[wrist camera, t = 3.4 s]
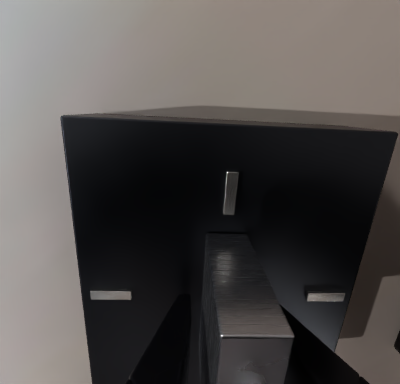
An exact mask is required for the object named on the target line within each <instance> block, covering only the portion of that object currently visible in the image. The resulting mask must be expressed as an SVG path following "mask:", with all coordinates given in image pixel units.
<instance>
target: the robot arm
mask: <svg viewBox="0 0 400 384" xmlns="http://www.w3.org/2000/svg"><path fill="white" fill-rule="evenodd" d="M280 306H281V308H282V310H283V312H284V314H285V316H286V319H287V321H288V323H289V325H290V327H291V329H292V331H293V334H294V336H295V338H294V343H293V348H292V352H291V357H290V361H289V366H288V370H287V375H286V379H285V384H369V383H368V382H367V381H366V380H365V379H364V378H363V377H361V376H360V377H359V374H358V373H357V372H356V371H355V370H354V369H352V368H351V367H350V366H349V365H348V364H347V363H346V362H345V361H343V360H342V359H341V358H340V357H339V356H338V355H337V354H336V353H334V352H333V351H332V350H331V349H330V348H329V347H328V346H327V345H325V344H324V343H323V342H322V341H321V340H320V339H319V338H318V337H316V336H315V335H314V334H313V333H312V332H311V331H310V330H309V329H307V328H306V327H305V326H304V325H303V324H302V323H301V322H300V321H298V320H297V319H296V318H295V317H294V316H293V315H292V314H291V313H289V312H288V311H287V310H286V309H285V308H284V307H283V306H282V305H280ZM190 341H191V295H190V294H179V295H178V296H177V298H176V299H175V301H174V303H173V304H172V306H171V308H170V309H169V311H168V313H167V314H166V316H165V318H164V319H163V321H162V323H161V324H160V326H159V328H158V329H157V331H156V333H155V334H154V336H153V338H152V339H151V341H150V343H149V344H148V346H147V348H146V349H145V351H144V353H143V354H142V356H141V358H140V359H139V361H138V363H137V364H136V366H135V368H134V369H133V371H132V373H131V374H130V376H129V379H127V381H126V382H125V384H188V375H189V362H190ZM394 347H395V349H396V350H397V351H398V352H399V354H400V331H399V334H398V336H397V339H396V342H395V344H394Z"/></svg>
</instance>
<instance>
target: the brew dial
mask: <svg viewBox="0 0 400 384" xmlns="http://www.w3.org/2000/svg"><path fill="white" fill-rule="evenodd" d="M294 338H295V336H294V334H293V331H292V329H291V327H290V325H289V323H288V321H287V319H286V316H285V314H284V312H283V310H282V308H281V306H280V304H279V302H278V299H277V297H276V295H275V293H274V291H273V289H272V287H271V284H270V282H269V280H268V278H267V276H266V274H265V272H264V270H263V267H262V265H261V263H260V261H259V259H258V257H257V255H256V252H255V250H254V248H253V246H252V244H251V242H250V240H249V238H248V235H247V234H221V233H206V237H205V252H204V268H203V284H202V300H201V315H200V331H199V369H200V384H285V379H286V375H287V370H288V366H289V361H290V357H291V352H292V348H293V343H294Z"/></svg>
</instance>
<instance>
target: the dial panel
mask: <svg viewBox="0 0 400 384" xmlns="http://www.w3.org/2000/svg"><path fill="white" fill-rule="evenodd" d="M61 126H62V134H63V143H64V151H65V160H66V168H67V176H68V185H69V193H70V201H71V210H72V218H73V226H74V235H75V243H76V252H77V260H78V268H79V277H80V285H81V293H82V302H83V310H84V318H85V327H86V335H87V344H88V352H89V360H90V369H91V377H92V384H125V382H126V381H127V379H129V376H130V374H131V373H132V371H133V369H134V368H135V366H136V364H137V363H138V361H139V359H140V358H141V356H142V354H143V353H144V351H145V349H146V348H147V346H148V344H149V343H150V341H151V339H152V338H153V336H154V334H155V333H156V331H157V329H158V328H159V326H160V324H161V323H162V321H163V319H164V318H165V316H166V314H167V313H168V311H169V309H170V308H171V306H172V304H173V303H174V301H175V299H176V298H177V296H178V295H179V294H190V295H191V341H190V362H189V375H188V384H200V369H199V331H200V315H201V300H202V284H203V268H204V252H205V237H206V233H221V234H247V235H248V238H249V240H250V242H251V244H252V246H253V248H254V250H255V252H256V255H257V257H258V259H259V261H260V263H261V265H262V267H263V270H264V272H265V274H266V276H267V278H268V280H269V282H270V284H271V287H272V289H273V291H274V293H275V295H276V297H277V299H278V302H279V304H280V305H282V306H283V307H284V308H285V309H286V310H287V311H288V312H289V313H291V314H292V315H293V316H294V317H295V318H296V319H297V320H298V321H300V322H301V323H302V324H303V325H304V326H305V327H306V328H307V329H309V330H310V331H311V332H312V333H313V334H314V335H315V336H316V337H318V338H319V339H320V340H321V341H322V342H323V343H324V344H325V345H327V346H328V347H329V348H330V349H331V350H332V351H333V352H335V349H336V345H337V342H338V338H339V335H340V332H341V328H342V325H343V321H344V318H345V314H346V311H347V307H348V304H349V301H350V297H351V294H352V290H353V287H354V283H355V280H356V277H357V273H358V270H359V266H360V263H361V259H362V256H363V253H364V249H365V246H366V242H367V239H368V235H369V232H370V229H371V225H372V222H373V218H374V215H375V211H376V208H377V205H378V201H379V198H380V194H381V191H382V187H383V184H384V181H385V177H386V174H387V170H388V167H389V163H390V160H391V157H392V153H393V150H394V146H395V143H396V139H397V136H398V133H397V132H392V131H383V130H374V129H365V128H356V127H348V126H335V125H315V124H296V123H276V122H256V121H236V120H216V119H196V118H177V117H157V116H137V115H117V114H80V115H63V116H61Z"/></svg>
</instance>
